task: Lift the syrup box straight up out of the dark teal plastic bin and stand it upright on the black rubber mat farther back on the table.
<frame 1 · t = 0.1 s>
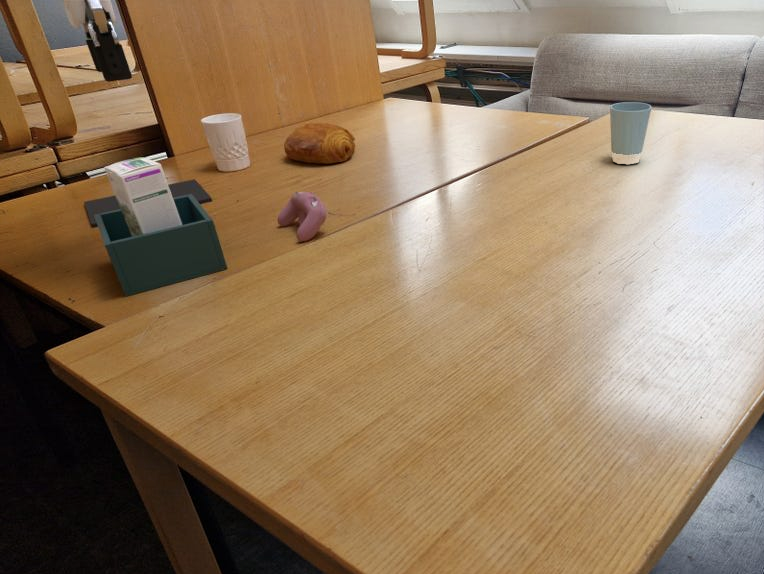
hand: (114, 75, 83), 25 cm above the table, tool pointing down, fingers open, 9 cm apart
bin: (169, 265, 91), on the table
croissant: (324, 157, 134), on the table
syrup box: (168, 263, 91), resting on bin
white cup: (234, 168, 131), on the table
video game controller: (305, 231, 100), on the table
cup: (625, 162, 123), on the table
mat: (148, 202, 114), on the table
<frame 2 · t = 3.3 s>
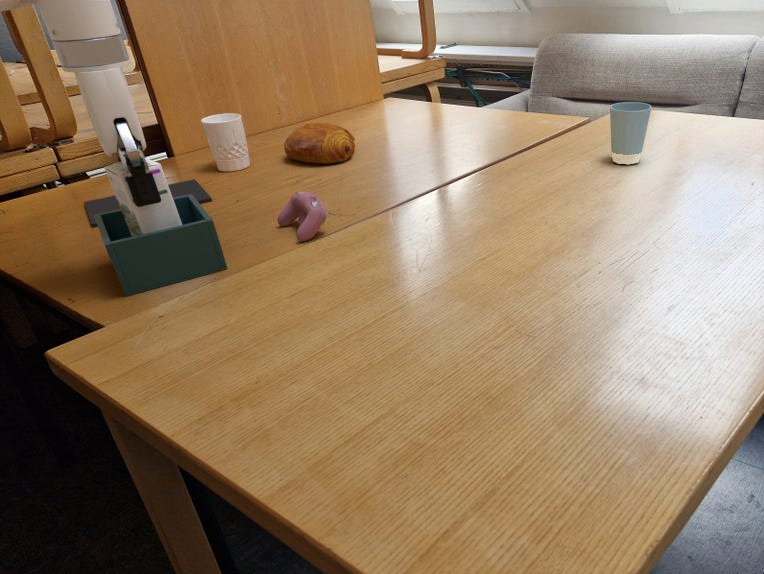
hand: (144, 195, 85), 11 cm above the table, tool pointing down, fingers closed on syrup box, 6 cm apart
syrup box: (168, 263, 91), resting on bin, touching gripper
everything else where it was.
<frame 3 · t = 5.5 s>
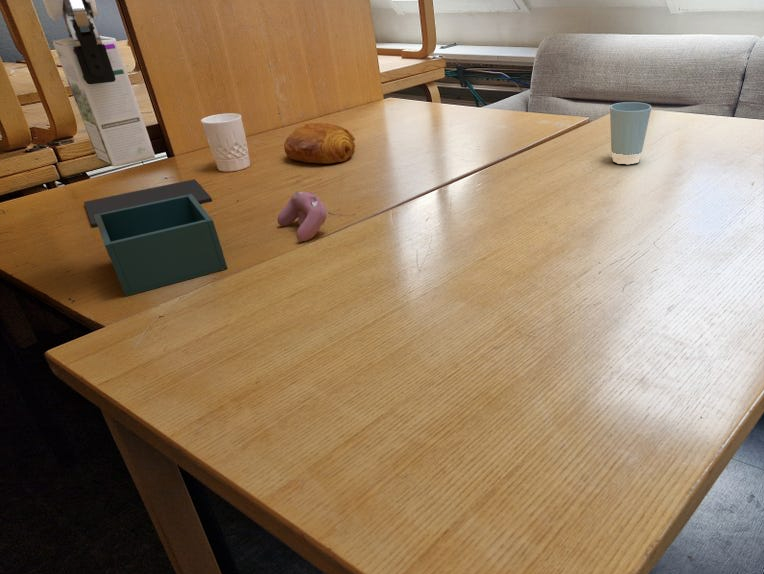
hand: (97, 77, 76), 26 cm above the table, tool pointing down, fingers closed on syrup box, 6 cm apart
syrup box: (126, 160, 82), point 15 cm above the table, touching gripper
everything else where it was.
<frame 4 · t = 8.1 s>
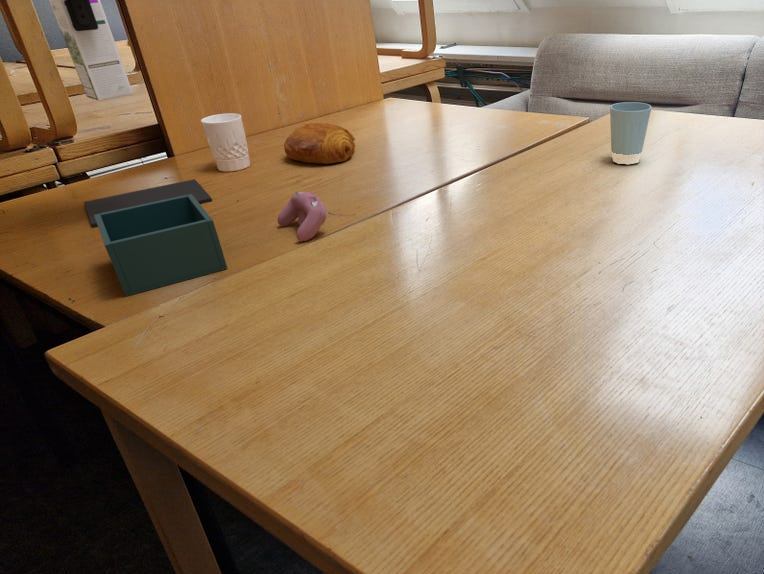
hand: (84, 27, 95), 29 cm above the table, tool pointing down, fingers closed on syrup box, 6 cm apart
syrup box: (110, 97, 101), point 19 cm above the table, touching gripper
everything else where it was.
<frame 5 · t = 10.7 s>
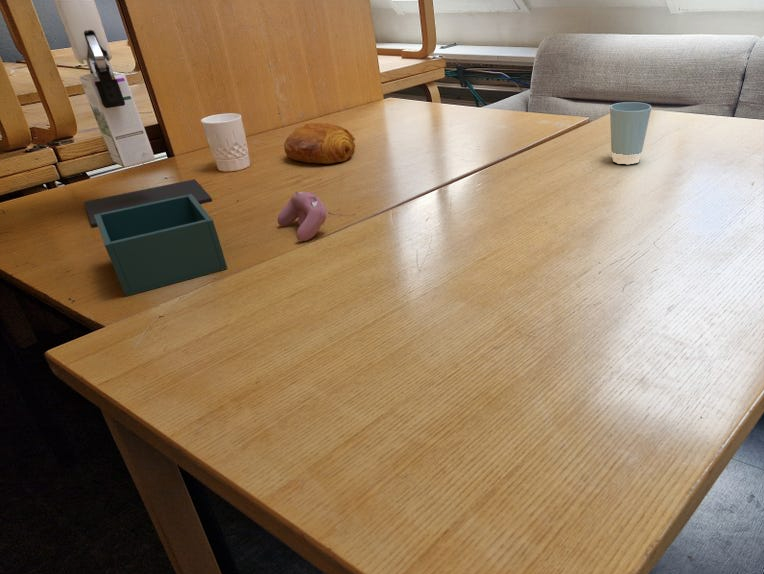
hand: (112, 102, 104), 18 cm above the table, tool pointing down, fingers closed on syrup box, 6 cm apart
syrup box: (134, 162, 110), point 7 cm above the table, touching gripper
everything else where it was.
when the fingers open (11 cm above the table, at t = 12.9 s): syrup box stays where it is, resting on mat.
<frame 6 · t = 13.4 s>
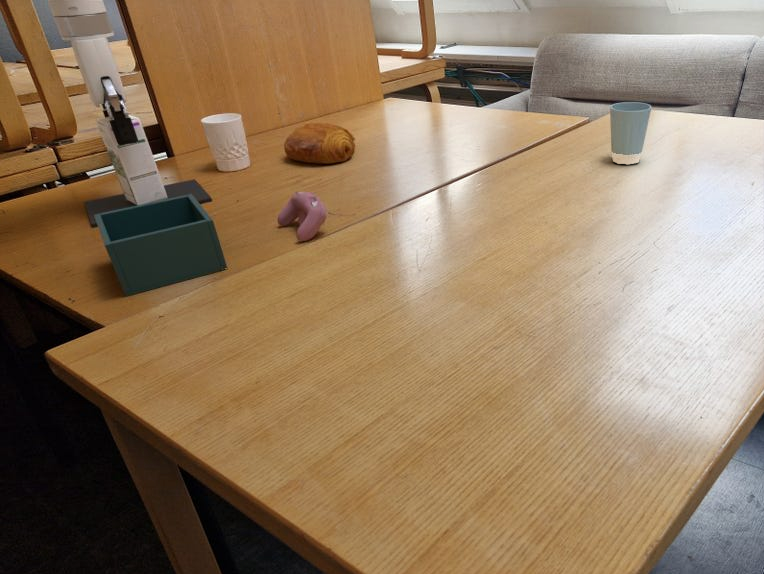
hand: (124, 137, 108), 12 cm above the table, tool pointing down, fingers open, 9 cm apart
syrup box: (147, 200, 114), resting on mat
everything else where it was.
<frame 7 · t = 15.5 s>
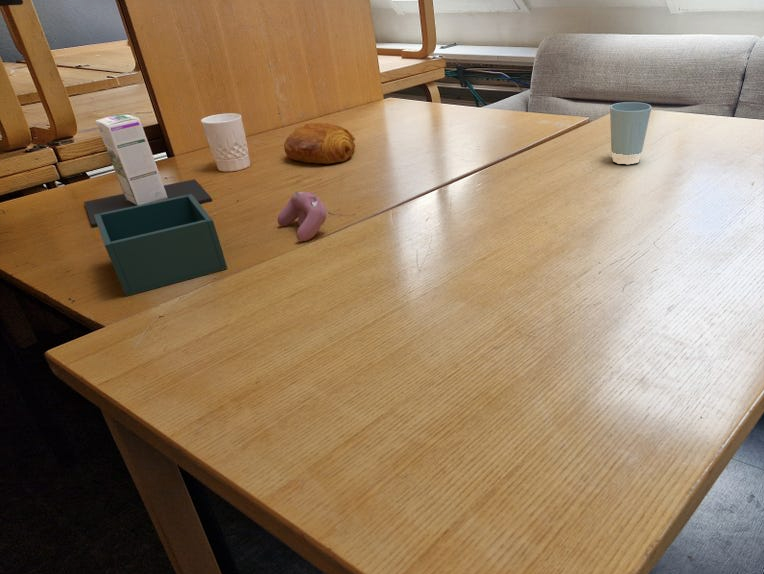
hand: (9, 3, 86), 33 cm above the table, tool pointing down, fingers open, 9 cm apart
nothing on the table moved.
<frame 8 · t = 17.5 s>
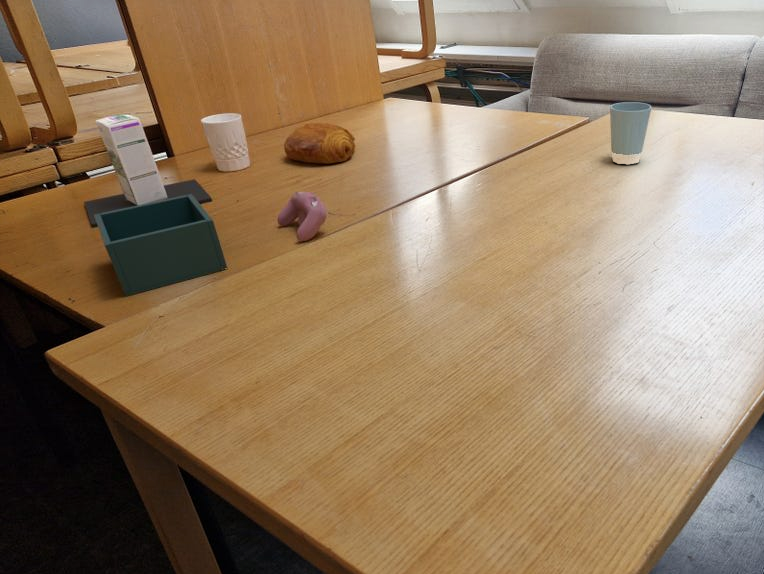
nothing on the table moved.
at the end: syrup box inside the target area on the mat (0.0 cm from its centre), point 0.4 cm above the mat's base; syrup box tilted 0°; syrup box touching mat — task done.
